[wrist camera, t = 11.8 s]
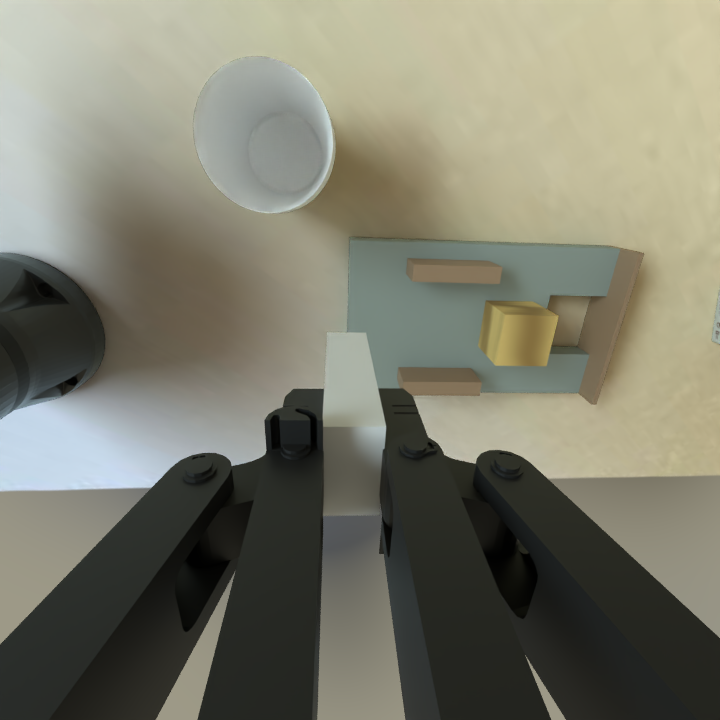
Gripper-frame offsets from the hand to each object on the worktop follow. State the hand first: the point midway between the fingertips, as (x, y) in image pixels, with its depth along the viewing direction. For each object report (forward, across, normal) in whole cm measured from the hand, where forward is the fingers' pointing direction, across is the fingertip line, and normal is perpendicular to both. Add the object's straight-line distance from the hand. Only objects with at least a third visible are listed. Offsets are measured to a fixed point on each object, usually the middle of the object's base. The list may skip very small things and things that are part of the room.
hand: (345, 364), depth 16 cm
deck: (+26, +14, -6) cm, 31 cm away
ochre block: (+24, +17, -6) cm, 30 cm away
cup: (+27, -5, +9) cm, 29 cm away
